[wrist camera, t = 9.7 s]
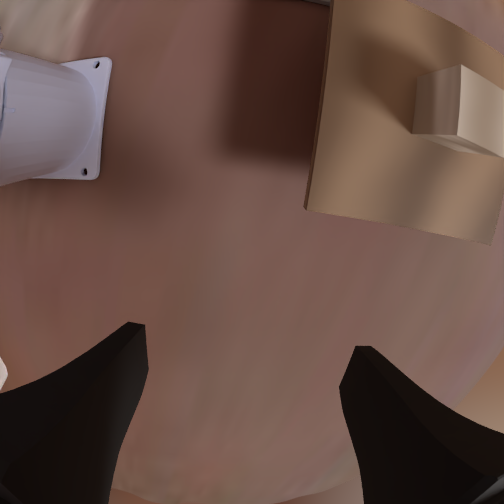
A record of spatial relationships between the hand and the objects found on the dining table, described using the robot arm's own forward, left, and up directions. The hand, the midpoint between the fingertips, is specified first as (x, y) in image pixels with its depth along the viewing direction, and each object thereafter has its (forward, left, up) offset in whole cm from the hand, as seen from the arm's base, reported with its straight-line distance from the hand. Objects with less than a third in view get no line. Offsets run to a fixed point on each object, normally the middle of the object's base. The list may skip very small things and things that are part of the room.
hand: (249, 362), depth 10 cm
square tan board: (+8, +10, -6) cm, 14 cm away
